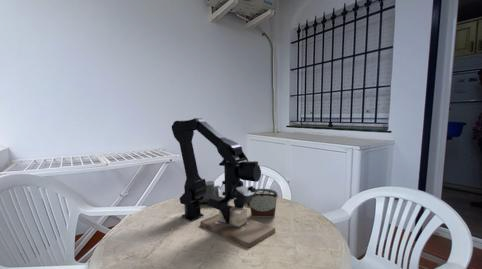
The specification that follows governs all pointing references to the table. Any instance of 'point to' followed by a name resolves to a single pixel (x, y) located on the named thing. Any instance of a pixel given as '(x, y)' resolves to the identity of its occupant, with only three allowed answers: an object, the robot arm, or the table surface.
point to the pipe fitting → (211, 191)
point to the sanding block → (235, 217)
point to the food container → (263, 203)
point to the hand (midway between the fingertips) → (233, 220)
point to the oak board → (240, 230)
